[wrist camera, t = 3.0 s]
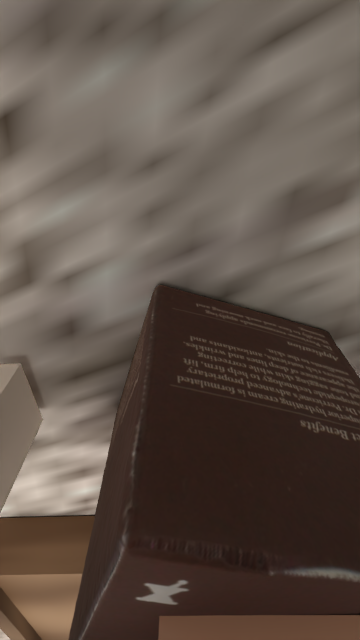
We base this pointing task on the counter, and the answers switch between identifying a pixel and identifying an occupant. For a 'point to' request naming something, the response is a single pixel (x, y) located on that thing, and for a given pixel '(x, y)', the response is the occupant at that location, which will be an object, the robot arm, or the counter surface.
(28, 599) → the dock
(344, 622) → the tan rounded cube
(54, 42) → the counter surface
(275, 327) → the box
